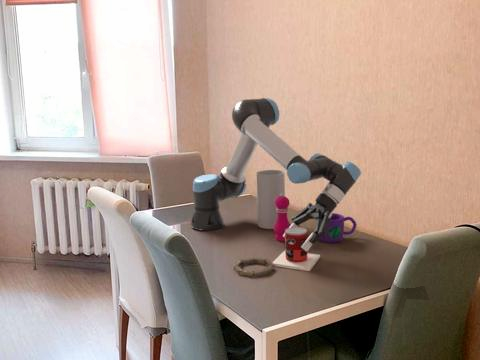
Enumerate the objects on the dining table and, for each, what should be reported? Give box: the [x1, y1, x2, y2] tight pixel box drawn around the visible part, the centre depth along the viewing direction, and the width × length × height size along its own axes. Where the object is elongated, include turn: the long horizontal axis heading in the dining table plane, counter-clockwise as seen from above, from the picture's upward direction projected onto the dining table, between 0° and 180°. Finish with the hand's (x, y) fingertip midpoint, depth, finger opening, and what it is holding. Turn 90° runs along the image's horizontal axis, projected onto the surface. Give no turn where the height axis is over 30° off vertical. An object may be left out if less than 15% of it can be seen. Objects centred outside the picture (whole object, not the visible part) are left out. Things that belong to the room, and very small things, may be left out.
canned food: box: [284, 226, 308, 262], centre depth 171 cm, size 8×8×11 cm
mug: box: [317, 212, 358, 244], centre depth 195 cm, size 17×11×10 cm, turn 101°
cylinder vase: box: [256, 169, 286, 230], centre depth 214 cm, size 12×12×25 cm
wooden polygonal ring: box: [233, 257, 275, 278], centre depth 167 cm, size 13×13×2 cm
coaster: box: [272, 250, 321, 272], centre depth 172 cm, size 14×14×1 cm
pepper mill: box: [273, 193, 291, 242], centre depth 195 cm, size 7×7×20 cm
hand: (294, 243), depth 171 cm, fingers open, 13 cm apart
